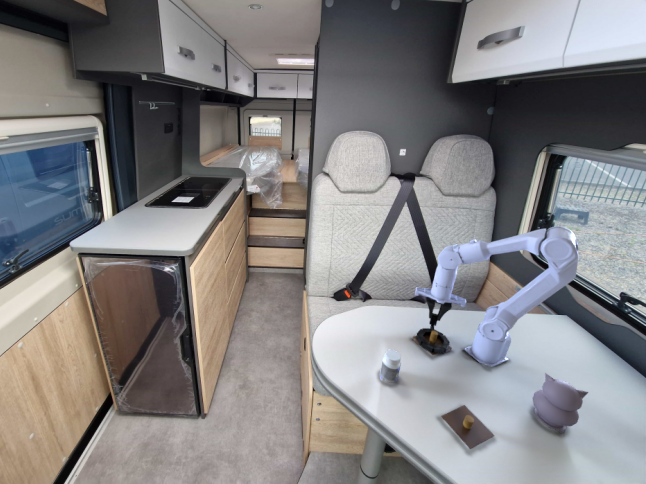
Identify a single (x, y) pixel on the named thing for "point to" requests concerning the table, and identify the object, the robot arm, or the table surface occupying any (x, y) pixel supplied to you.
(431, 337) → the tall peg stand
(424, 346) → the hanger ring
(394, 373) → the pill bottle
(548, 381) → the cat figurine
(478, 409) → the table surface
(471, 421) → the short peg stand
